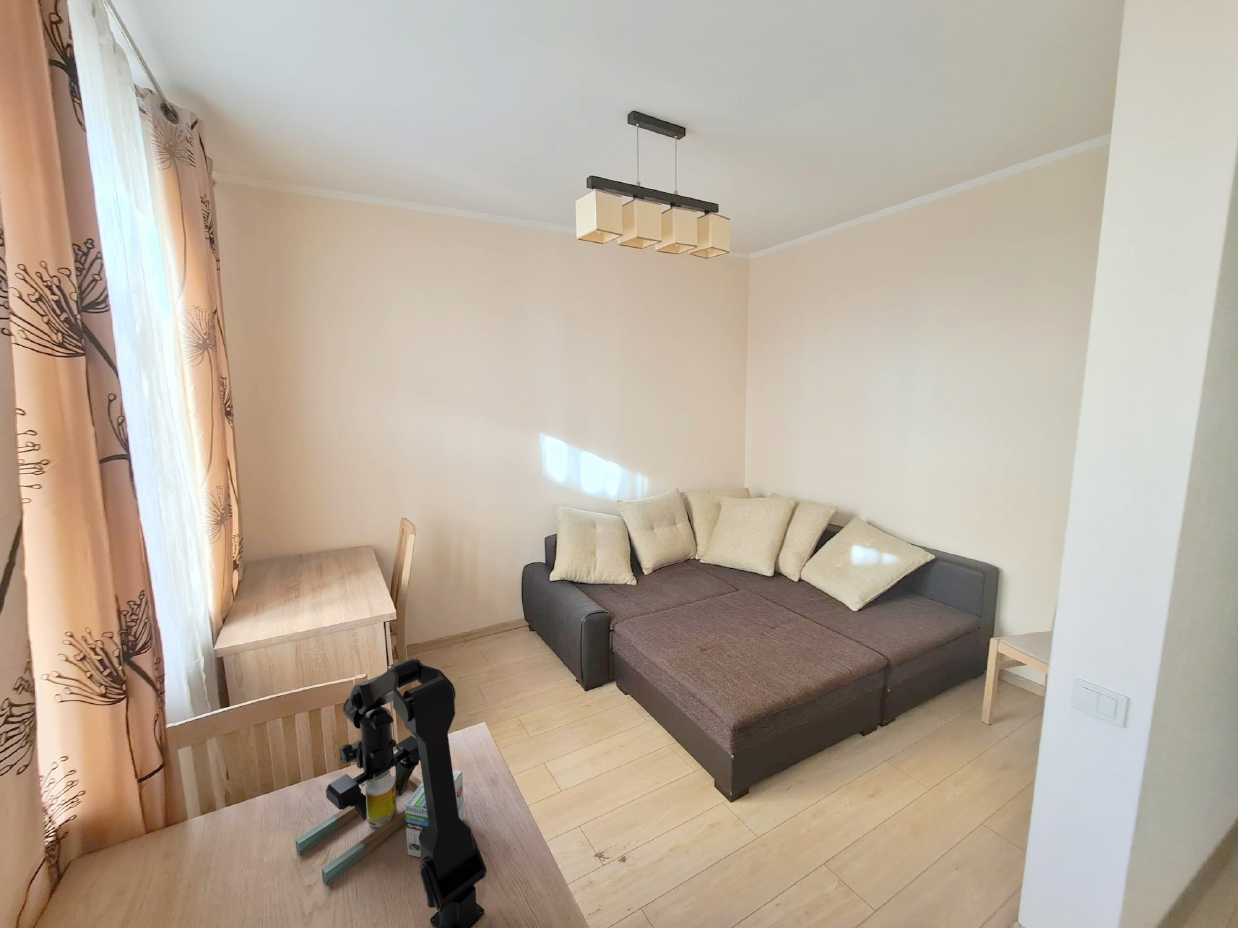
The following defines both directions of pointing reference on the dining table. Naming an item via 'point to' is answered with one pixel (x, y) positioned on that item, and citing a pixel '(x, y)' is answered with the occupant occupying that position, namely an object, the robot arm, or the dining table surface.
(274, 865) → the dining table surface
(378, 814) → the supplement bottle
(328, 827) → the bay
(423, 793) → the light bulb box
